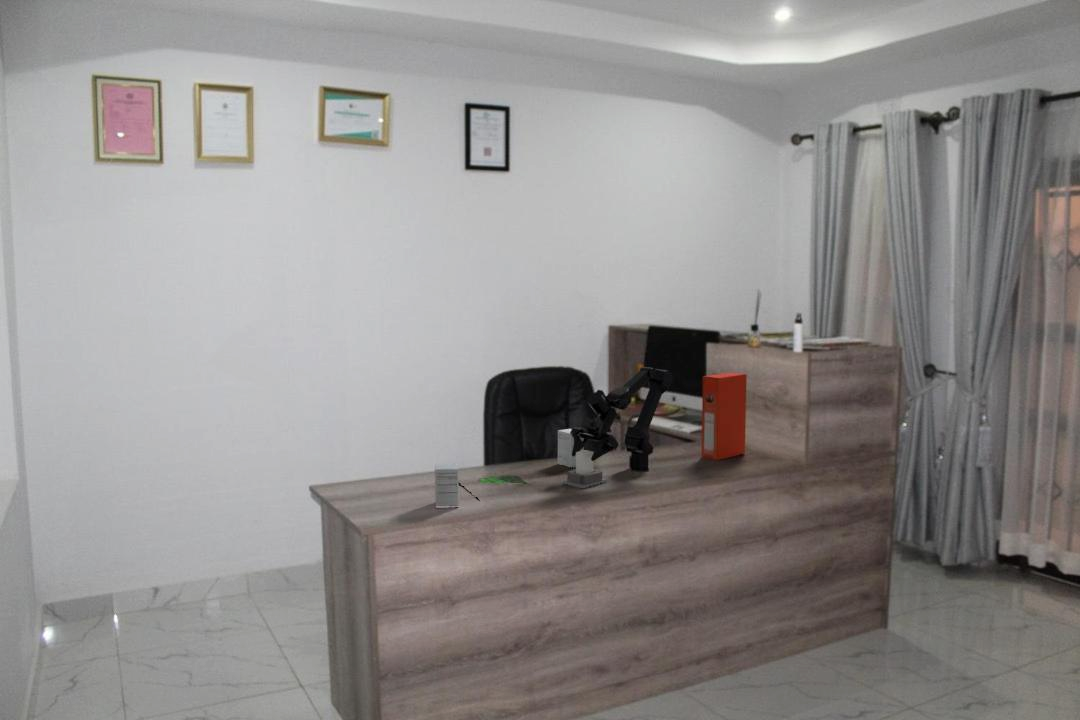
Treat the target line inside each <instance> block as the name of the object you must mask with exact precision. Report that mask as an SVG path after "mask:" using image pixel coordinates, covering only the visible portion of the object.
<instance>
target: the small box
mask: <svg viewBox="0 0 1080 720" xmlns="http://www.w3.org/2000/svg"><path fill="white" fill-rule="evenodd" d="M572 429H573V428H565V429H559V430H557V465H561V466H563V465H564V467H567V468H570V467H571V468H572V467H573V468H576V455H575V456H574V457H573V456H572V450H573V445H574V438H573V437H572V435H571V433H570V432H571V430H572ZM584 448H585V446H584V447H583V448H582V449H581V450H580V451H584V450H585V449H584ZM580 451H579V452H580ZM571 468H570V469H571Z"/></svg>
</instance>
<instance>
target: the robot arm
mask: <svg viewBox="0 0 1080 720" xmlns="http://www.w3.org/2000/svg"><path fill="white" fill-rule="evenodd" d="M673 381H674V376H673V374H672V372H671V371H670V370H666V369H659V368H653V367H649V366H648V367H647V366H642V367H640V369H639V371H638V372H637V373H636V374H634V376H632V377H631V378H630V379H629V380H628V381H627V382H626V383H625V384H624V385H623V386H621V387H619V388H618V387H617V388H615V389H613V390H612V391H610V392H609V393H608V394H607V395H606V394H605V391H603V390H602V389H597V391H595V392H593V393H591V394H590V395H589V396H588V397H587V399H586V403H587V404H588V405H589V406H590V408H591V409H592V410H593V412H594V413H595V414H597V415H598V416H597V417H594V418H590V417H584V416H581V420H580V423H579V427H572V428H571V429H572V430H571V432H570V433H571V435H572V437H573V438H574V445H573V450H572V456H573V457H574V456H575V455H576V452H579V451H580V450H581V449H582V448H583V447H584V448H585V446H586V443H587V442H588V441H592V442H597V443H598V445H597V447H596V449H595V450H594V451H593V456H592V458H591V460H592V461H593V462H594V461H596V460H597V459H599V458H601V457H602V456H604V455H606V454H608V453H610V452H613V451H617V449H618V448H619V442H618V440H617V439H616V438H615V436H614V435H613V434H611V433H612V431H613V430H612V429H611V427H612V426H613V424H614V423H615V421H616V420H618V421H621V419H622V417H621V412H620V411H617V410H622V411H624V410H626V409H627V408H628V406H629V405H630V404H631V403H632V397H633V396H634V395H635V394H636V393H637V392H639V391H640V389H642V388H643V387H644V386H645V385H646V384H648V392H647V395H646V397H645V400H644V402H643V405H642V407H641V410H640V412H639V415H638V418H637V420H636V422H635V424H634V425H633V426H629V425H628V427H627V429H626V432H625V434H624V440H623V441H624V445H625V451H626V452H628V453H629V452H630V455H629V456H628V467H629V469H630V471H635V472H637V471H640V472H641V471H645V472H647V471H650V468H649V455H651V454H653V453H654V447H653V446H652V444H651V442H650V439H651V438H650V431H649V429H650V426H651V423H652V422H653V418H654V416H655V414H656V410H657V408H658V405H659V403H660V400H661V397H662V395H664V393H666V392H667V391H668V390H669V389H670V387H671V385H672V383H673ZM581 427H582V428H585V430H584V429H582V428H581ZM586 432H587V433H586Z"/></svg>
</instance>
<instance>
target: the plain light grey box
mask: <svg viewBox="0 0 1080 720" xmlns="http://www.w3.org/2000/svg"><path fill="white" fill-rule="evenodd" d="M593 454H594V451H592V450H587V449H584V451H580V452H576V467H575V470H576V473H578V474H582V475H586V474H590V473H593V469H594V461H592V460H591V458H592V456H593Z"/></svg>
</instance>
